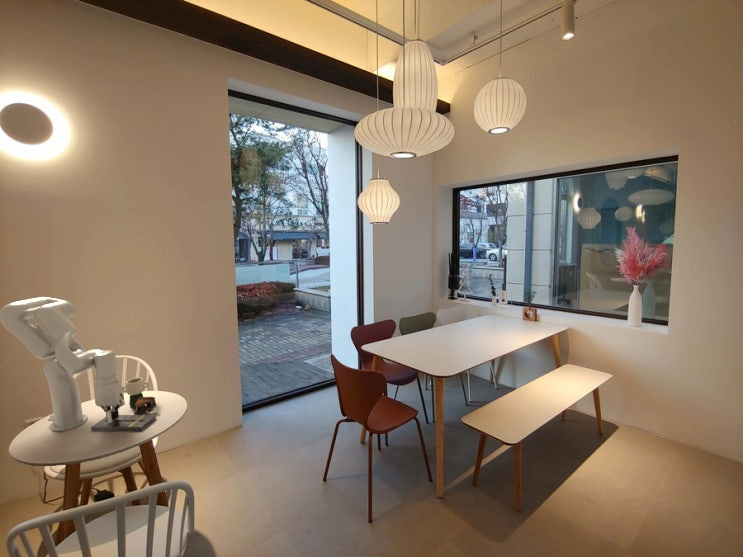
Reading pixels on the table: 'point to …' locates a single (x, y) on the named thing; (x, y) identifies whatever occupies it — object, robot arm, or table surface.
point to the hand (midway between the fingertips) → (112, 418)
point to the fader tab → (109, 416)
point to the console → (125, 423)
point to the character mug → (135, 389)
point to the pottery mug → (141, 407)
